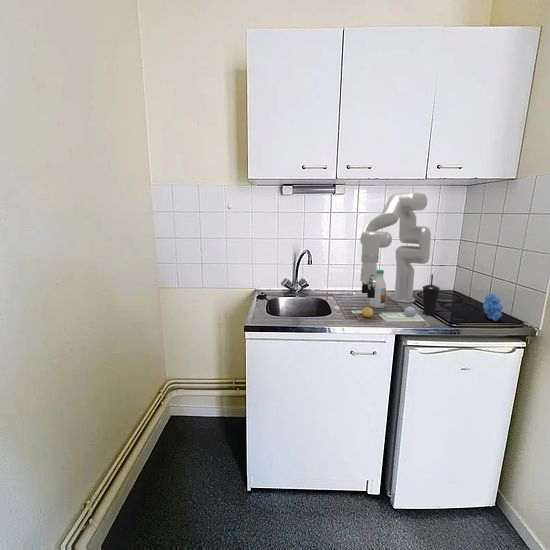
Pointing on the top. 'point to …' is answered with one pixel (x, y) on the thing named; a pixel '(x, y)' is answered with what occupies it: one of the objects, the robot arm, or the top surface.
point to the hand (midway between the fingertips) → (367, 295)
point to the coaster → (367, 318)
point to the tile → (357, 312)
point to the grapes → (492, 307)
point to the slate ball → (410, 312)
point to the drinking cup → (430, 298)
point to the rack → (400, 317)
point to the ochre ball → (367, 312)
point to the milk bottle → (379, 291)
